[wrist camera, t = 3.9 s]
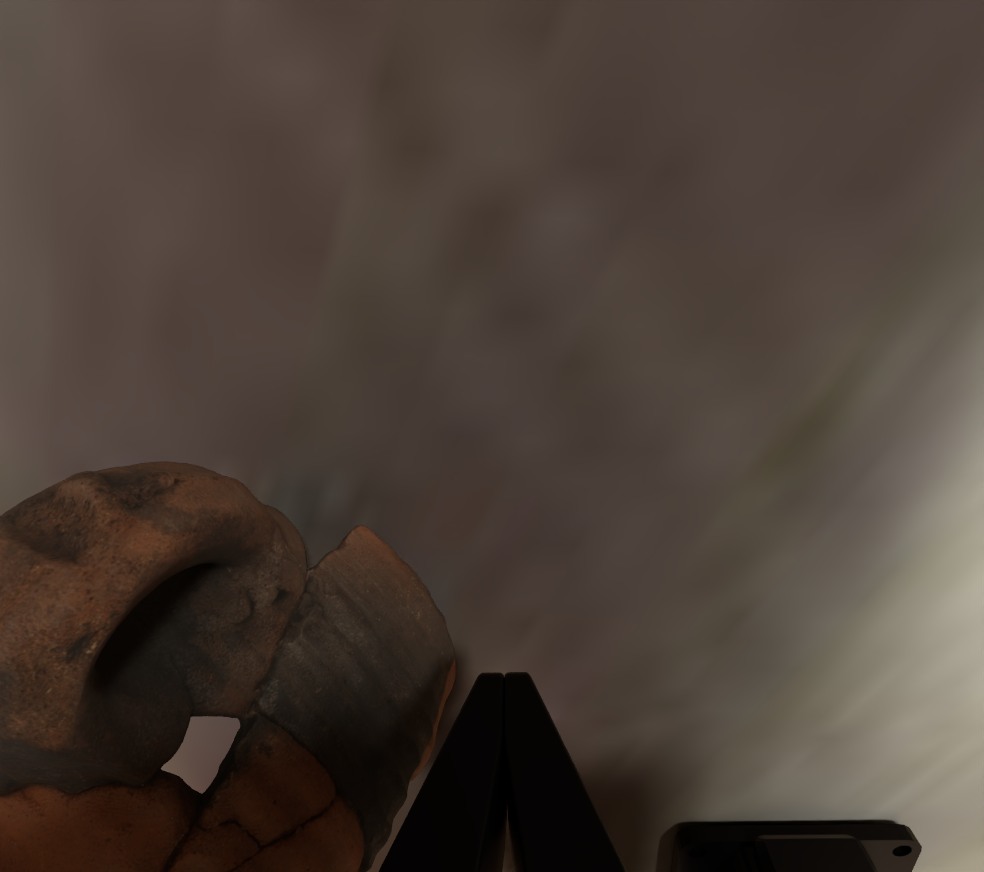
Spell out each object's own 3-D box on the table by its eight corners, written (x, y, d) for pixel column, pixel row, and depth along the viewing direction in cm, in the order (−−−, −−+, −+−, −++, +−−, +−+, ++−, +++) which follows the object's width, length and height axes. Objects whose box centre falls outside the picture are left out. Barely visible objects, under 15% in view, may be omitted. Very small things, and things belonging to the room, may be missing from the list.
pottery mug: (475, 756, 15) (234, 1186, 10) (240, 597, 19) (-46, 850, 13) (531, 426, 8) (-451, 1535, 2) (117, 254, 11) (-720, 496, 5)
